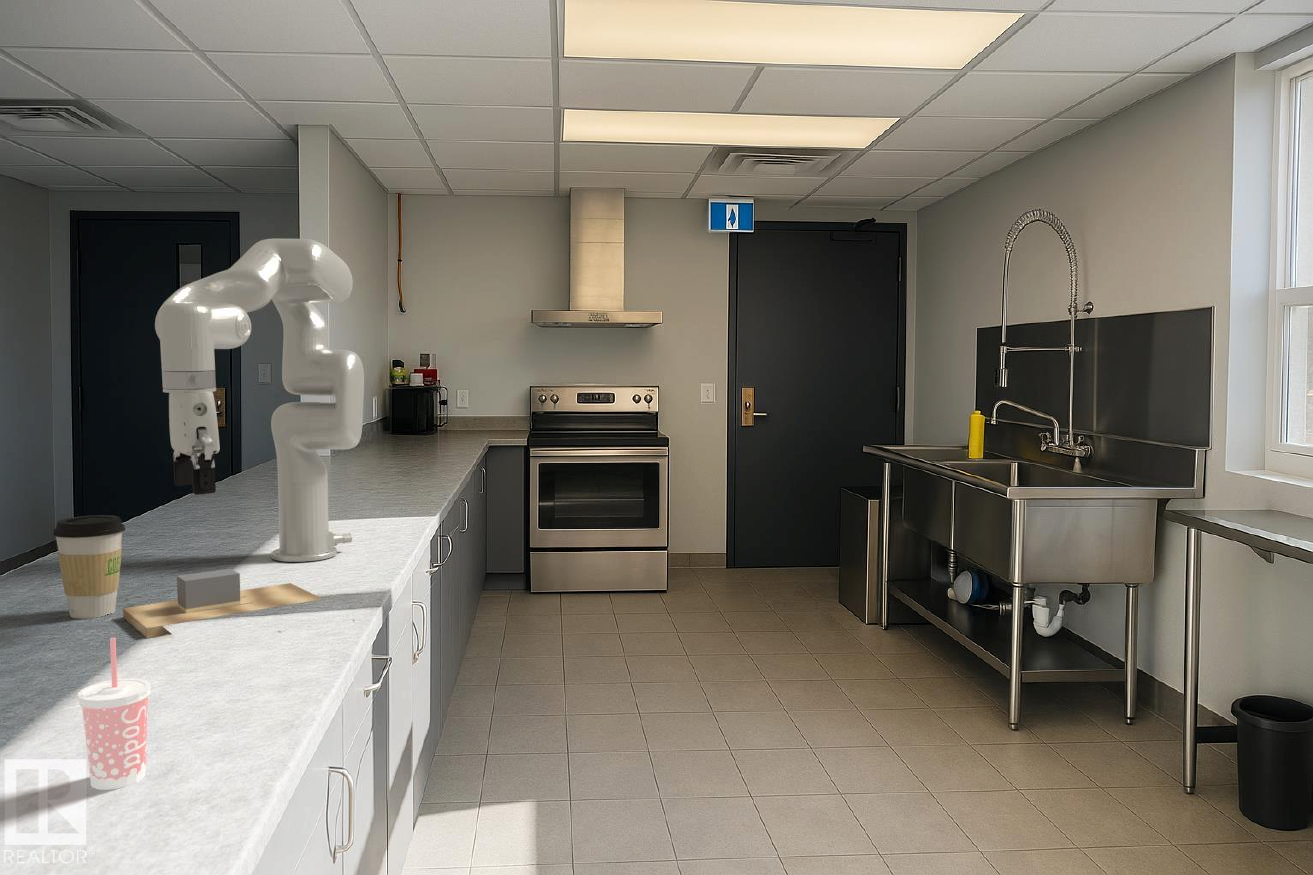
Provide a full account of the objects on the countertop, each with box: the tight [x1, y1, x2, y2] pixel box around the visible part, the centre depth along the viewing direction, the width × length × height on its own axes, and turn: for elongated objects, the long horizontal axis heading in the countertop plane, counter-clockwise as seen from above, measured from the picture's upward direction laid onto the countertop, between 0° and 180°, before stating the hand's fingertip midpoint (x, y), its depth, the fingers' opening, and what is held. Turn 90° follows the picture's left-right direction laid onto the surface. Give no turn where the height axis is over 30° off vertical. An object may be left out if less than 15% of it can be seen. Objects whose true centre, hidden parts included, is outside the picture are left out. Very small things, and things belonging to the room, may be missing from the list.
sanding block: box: [176, 568, 241, 613], centre depth 148 cm, size 8×4×5 cm, turn 132°
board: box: [122, 582, 323, 639], centre depth 150 cm, size 26×14×2 cm, turn 132°
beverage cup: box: [77, 636, 152, 791], centre depth 90 cm, size 6×6×14 cm
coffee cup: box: [52, 514, 126, 620], centre depth 148 cm, size 10×10×15 cm
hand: (195, 489), depth 150 cm, fingers open, 9 cm apart
